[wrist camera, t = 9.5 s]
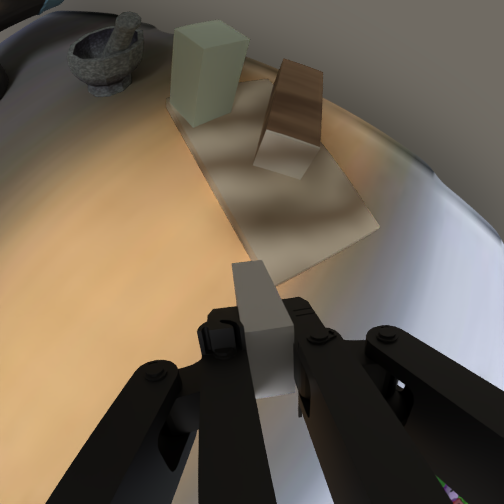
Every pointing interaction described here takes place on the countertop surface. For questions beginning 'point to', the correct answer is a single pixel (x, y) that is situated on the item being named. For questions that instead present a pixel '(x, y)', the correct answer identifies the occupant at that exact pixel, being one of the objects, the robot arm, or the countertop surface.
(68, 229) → the countertop surface
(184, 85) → the sage-green block
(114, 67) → the mortar and pestle
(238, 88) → the maple board
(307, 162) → the walnut block
